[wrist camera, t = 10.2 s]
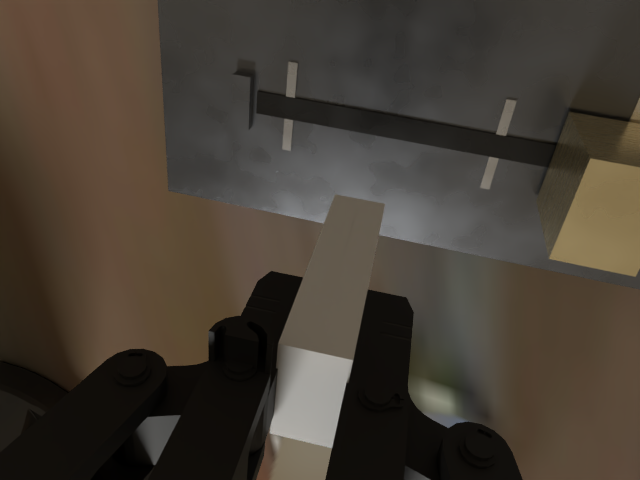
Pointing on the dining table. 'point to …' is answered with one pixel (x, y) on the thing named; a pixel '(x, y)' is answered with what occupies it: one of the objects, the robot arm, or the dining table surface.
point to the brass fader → (594, 195)
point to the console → (394, 109)
